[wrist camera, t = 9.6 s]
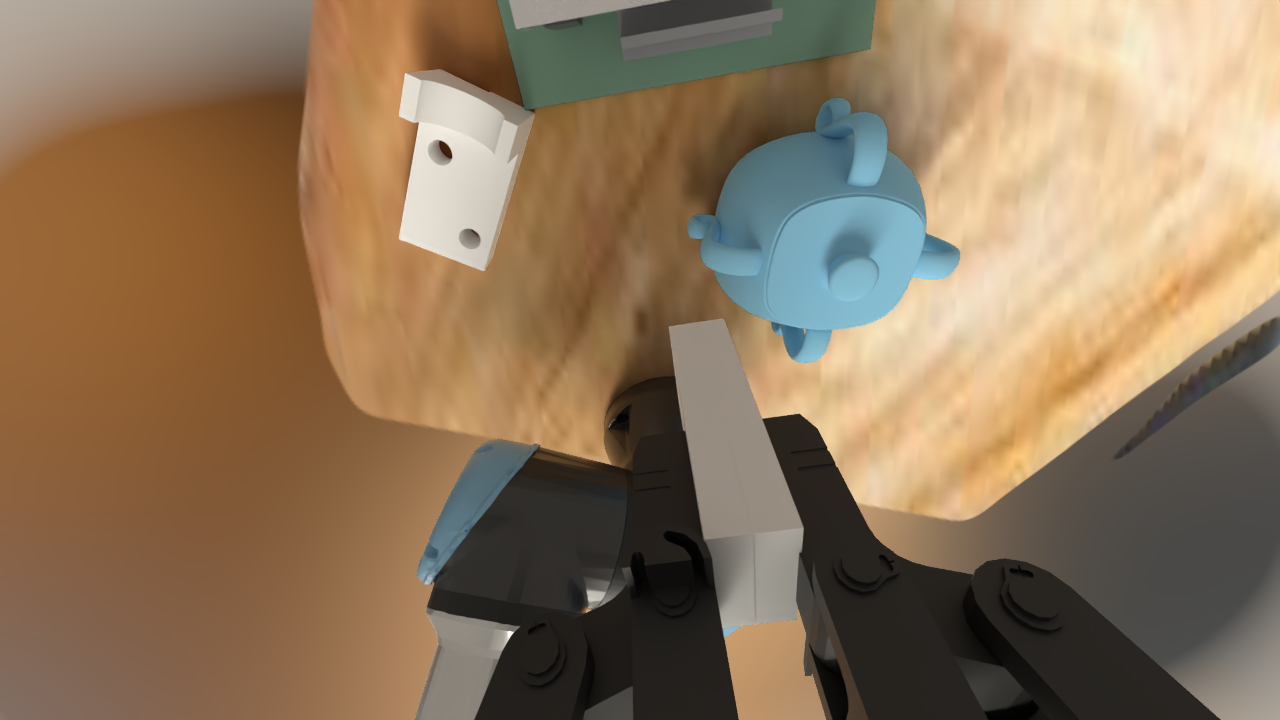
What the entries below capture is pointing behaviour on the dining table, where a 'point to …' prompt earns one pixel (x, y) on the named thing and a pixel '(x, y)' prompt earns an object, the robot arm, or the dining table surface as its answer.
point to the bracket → (460, 165)
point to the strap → (566, 10)
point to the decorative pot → (821, 231)
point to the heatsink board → (609, 76)
